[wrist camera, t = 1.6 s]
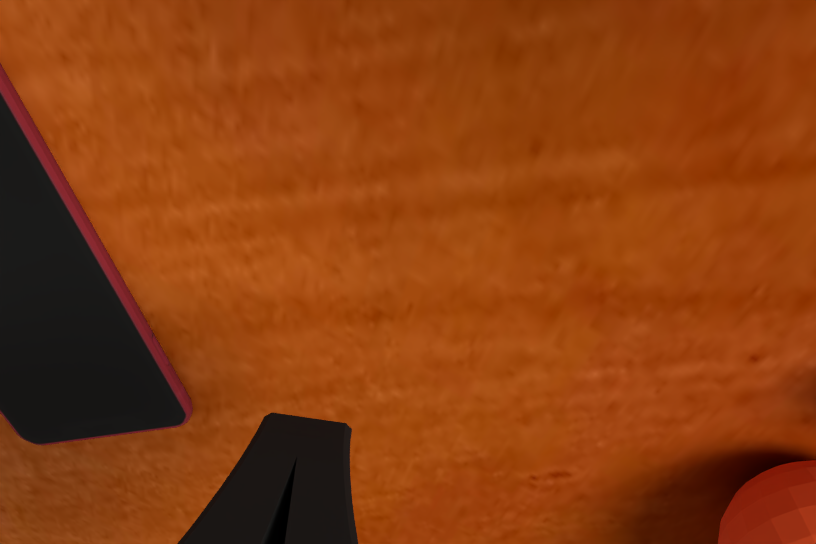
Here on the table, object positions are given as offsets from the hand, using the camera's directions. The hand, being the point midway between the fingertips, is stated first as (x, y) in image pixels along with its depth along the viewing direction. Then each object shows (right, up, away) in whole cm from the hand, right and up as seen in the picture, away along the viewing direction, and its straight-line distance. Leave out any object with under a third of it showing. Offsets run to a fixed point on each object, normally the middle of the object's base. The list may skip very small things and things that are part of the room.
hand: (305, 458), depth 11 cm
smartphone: (-11, +4, +12) cm, 17 cm away
